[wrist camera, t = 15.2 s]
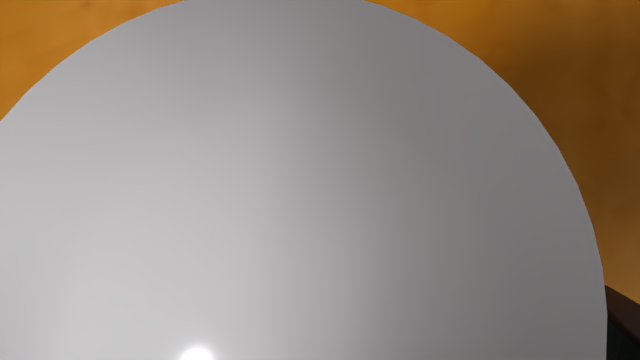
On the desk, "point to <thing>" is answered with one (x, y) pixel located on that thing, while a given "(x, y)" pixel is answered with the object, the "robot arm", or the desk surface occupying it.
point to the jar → (288, 198)
